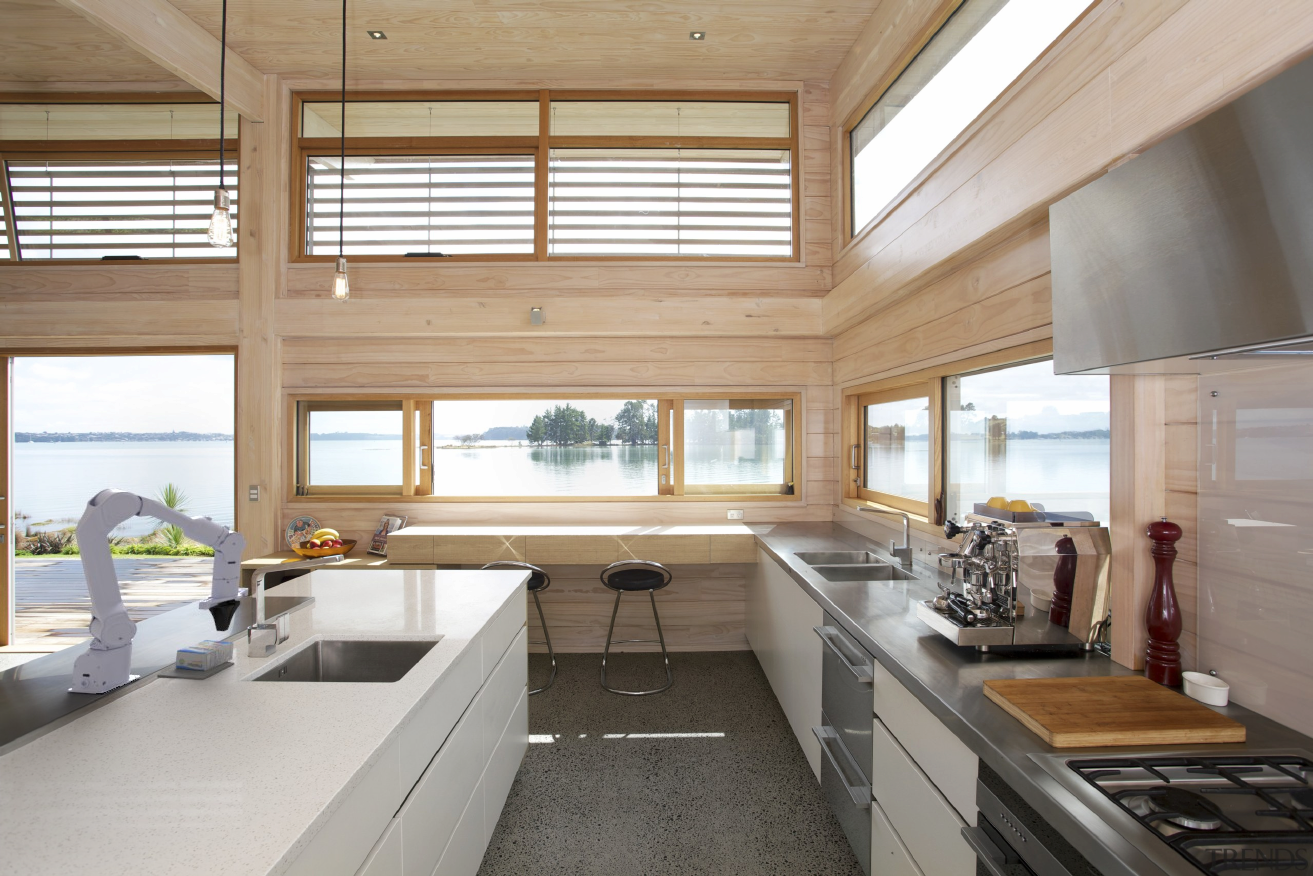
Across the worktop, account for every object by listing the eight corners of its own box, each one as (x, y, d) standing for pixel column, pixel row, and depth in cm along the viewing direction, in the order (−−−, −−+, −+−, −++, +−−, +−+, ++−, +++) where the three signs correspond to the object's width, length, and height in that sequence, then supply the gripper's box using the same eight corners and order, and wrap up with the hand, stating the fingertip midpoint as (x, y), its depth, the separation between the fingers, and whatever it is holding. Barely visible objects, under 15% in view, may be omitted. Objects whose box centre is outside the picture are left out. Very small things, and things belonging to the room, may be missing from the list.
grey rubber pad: (203, 679, 139) (203, 677, 139) (157, 676, 140) (157, 674, 140) (234, 664, 149) (234, 662, 149) (191, 661, 150) (191, 659, 150)
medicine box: (234, 642, 152) (206, 653, 143) (233, 659, 151) (204, 671, 143) (206, 639, 152) (175, 650, 144) (204, 657, 152) (174, 668, 143)
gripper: (220, 584, 145) (216, 640, 145) (260, 572, 160) (256, 623, 159) (192, 583, 145) (187, 638, 145) (234, 571, 160) (231, 621, 159)
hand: (222, 630), depth 152 cm, fingers closed
